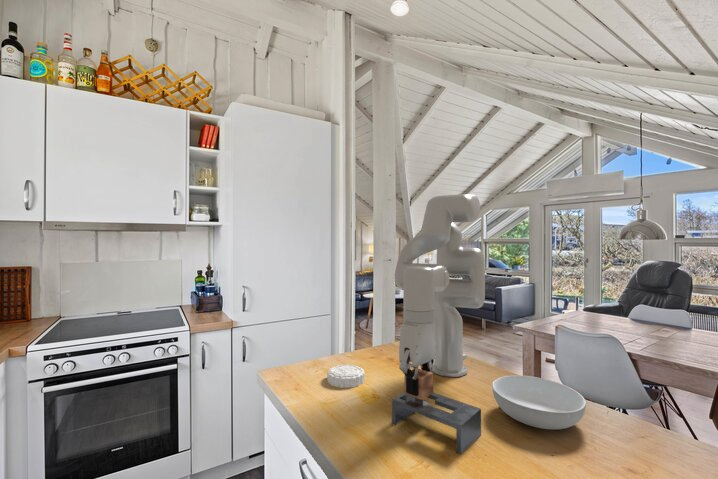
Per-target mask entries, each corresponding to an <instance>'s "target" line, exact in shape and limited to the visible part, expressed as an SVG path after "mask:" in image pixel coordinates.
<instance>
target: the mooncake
mask: <svg viewBox="0 0 718 479" xmlns="http://www.w3.org/2000/svg"><path fill="white" fill-rule="evenodd" d="M365 373H366V372H365V370H364V368H362V367H360V366H357V365H355V364H339V365H335V366H333V367H330V368H329V369H328V370H327V378H326V379H327V383H328V384H329V385H330V386H331V387H335V388H340V389H350V388H356V387H359V386H361V385H363V384H364V383H365V381H366V379H365Z"/></svg>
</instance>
